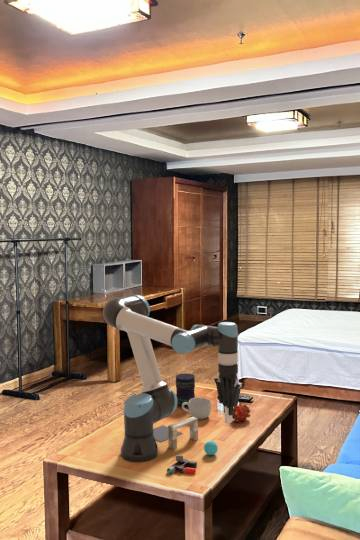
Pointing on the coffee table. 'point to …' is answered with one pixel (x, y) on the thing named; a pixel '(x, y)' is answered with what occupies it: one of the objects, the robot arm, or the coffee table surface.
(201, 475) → the coffee table surface
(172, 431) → the bridge
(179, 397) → the storage jar
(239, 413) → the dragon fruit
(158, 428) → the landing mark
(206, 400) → the teacup
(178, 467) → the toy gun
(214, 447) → the ball
